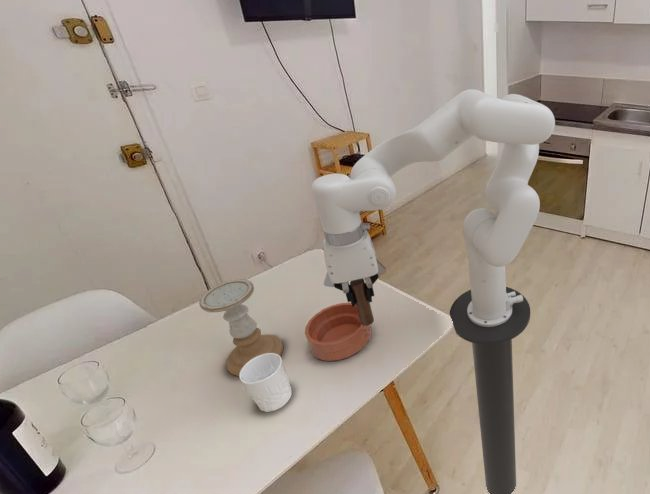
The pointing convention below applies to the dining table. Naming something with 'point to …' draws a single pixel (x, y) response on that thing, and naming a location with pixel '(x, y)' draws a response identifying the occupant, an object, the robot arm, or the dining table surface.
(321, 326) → the bowl
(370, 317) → the dark brown cylinder
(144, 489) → the dining table surface
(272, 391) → the white cup
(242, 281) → the candle holder
